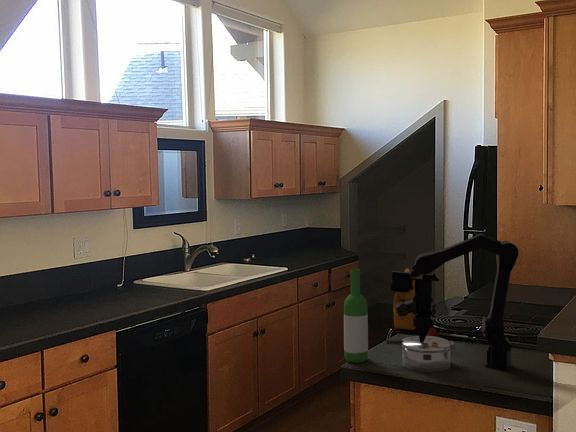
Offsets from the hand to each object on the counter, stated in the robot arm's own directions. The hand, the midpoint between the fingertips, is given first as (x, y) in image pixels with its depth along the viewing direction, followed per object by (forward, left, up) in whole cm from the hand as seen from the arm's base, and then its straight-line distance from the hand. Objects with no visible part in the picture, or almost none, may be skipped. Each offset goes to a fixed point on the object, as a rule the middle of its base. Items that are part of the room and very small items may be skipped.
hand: (421, 342), depth 208 cm
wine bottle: (+18, +10, -8) cm, 22 cm away
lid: (0, 0, -1) cm, 1 cm away
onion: (+7, -17, -8) cm, 20 cm away
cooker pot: (-1, -1, -7) cm, 7 cm away
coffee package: (+30, -36, -8) cm, 48 cm away
